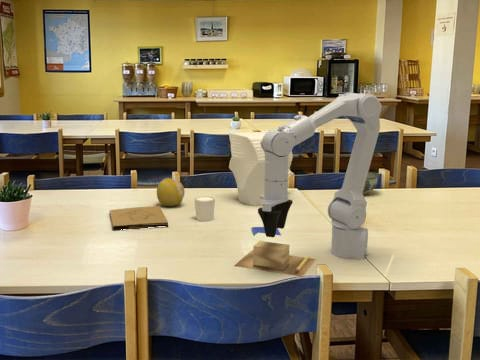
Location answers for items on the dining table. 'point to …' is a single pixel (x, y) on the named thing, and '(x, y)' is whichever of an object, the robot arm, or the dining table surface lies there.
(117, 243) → the dining table surface
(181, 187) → the fruit
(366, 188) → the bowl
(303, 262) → the pencil
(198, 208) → the shot glass
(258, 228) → the hard drive
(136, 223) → the box
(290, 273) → the board
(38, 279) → the dining table surface
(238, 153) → the paper stack
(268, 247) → the block
